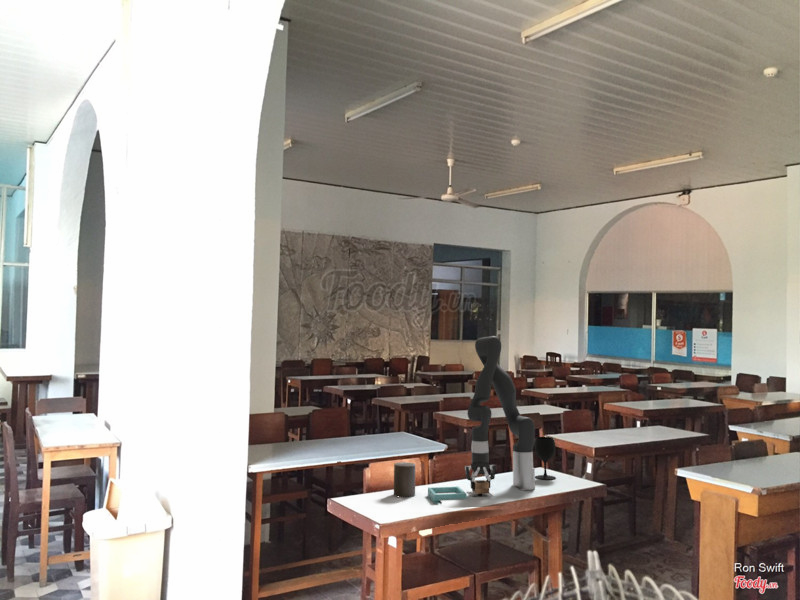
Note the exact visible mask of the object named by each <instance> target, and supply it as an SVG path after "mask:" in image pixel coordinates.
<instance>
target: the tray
mask: <svg viewBox="0 0 800 600" xmlns="http://www.w3.org/2000/svg"><path fill="white" fill-rule="evenodd" d="M455 492H456V493H455ZM467 495H468V493H467V492H465V491H464V490H463V488H461V487H459V486H438V487H435V486H433V487H427V497H429V499H430V500H431V501H432V502H433V503H434V504H442V500H464V499H465V500H467Z"/></svg>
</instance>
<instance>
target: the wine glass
mask: <svg viewBox="0 0 800 600" xmlns="http://www.w3.org/2000/svg"><path fill="white" fill-rule="evenodd" d="M556 447H557V446H556V442H555V439H554V437H553V436H537V437H536V436H535V439H534V446H533V449H534V452H535V454H536V456H537V457H538V458H539V459H540V461H542V462H543V467H544V468H543V470H544V472H543V474H540V475H539V474H538V475H535V480H541V481H554V480H556V478H557V477H556V476H553V475H548V473H547V463H548V462H549V461H550V460H551V459H552V458H553V457H554V455H555V454H556V450H557V449H556Z"/></svg>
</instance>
